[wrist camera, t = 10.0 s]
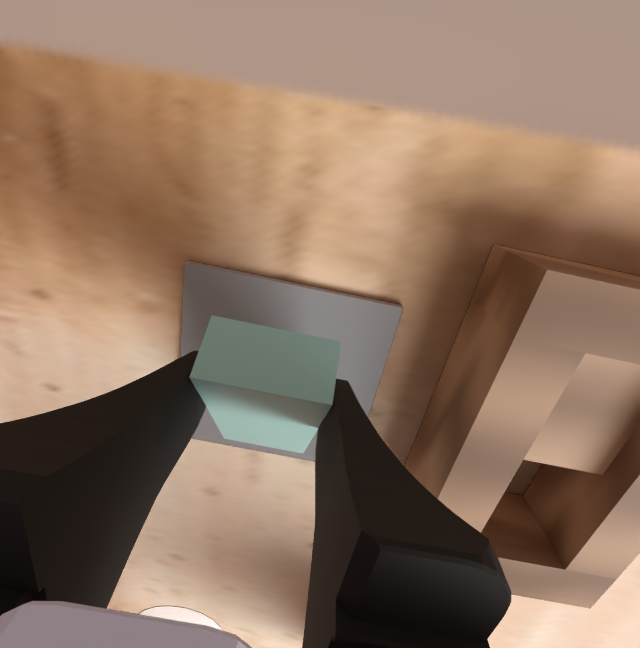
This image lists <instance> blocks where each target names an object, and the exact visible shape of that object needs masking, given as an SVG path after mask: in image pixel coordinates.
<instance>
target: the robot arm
mask: <svg viewBox="0 0 640 648" xmlns="http://www.w3.org/2000/svg"><path fill="white" fill-rule="evenodd" d="M198 352H199V351H195V350H194V351H192V352H190V353H188V354H186V355H184V356H182V357H181V358H179V359H177V360H175V361H173V362H171V363H170V364H168V365H166V366H164V367H162V368H160V369H158V370H156V371H154V372H152V373H150V374H148V375H146V376H144V377H142V378H140V379H138V380H136V381H133V382H131V383H129V384H127V385H125V386H123V387H120V388H118V389H116V390H113V391H111V392H108V393H106V394H103V395H100V396H98V397H95V398H92V399H89V400H87V401H84V402H81V403H77V404H74V405H71V406H67V407H64V408H60V409H57V410H54V411H50V412H47V413H43V414H39V415H35V416H31V417H27V418H23V419H19V420H14V421H10V422H5V423H0V648H252V647H251V646H249V645H248V644H247V643H246V642H244V641H243V640H242V639H241V638H239V637H238V636H237V635H235V634H232V633H229V632H226V631H222V630H219V629H216V628H213V627H210V626H206V625H200V624H194V623H188V622H182V621H177V620H171V619H165V618H159V617H153V616H147V615H141V614H135V613H129V612H123V611H117V610H111V609H107V606H108V604H109V601H110V599H111V597H112V594H113V592H114V590H115V588H116V585H117V583H118V581H119V578H120V576H121V574H122V571H123V569H124V567H125V564H126V562H127V560H128V558H129V555H130V553H131V551H132V549H133V547H134V544H135V542H136V540H137V538H138V536H139V533H140V531H141V529H142V527H143V525H144V523H145V520H146V518H147V516H148V514H149V512H150V510H151V508H152V506H153V504H154V501H155V499H156V497H157V495H158V494H159V492H160V490H161V488H162V486H163V484H164V483H165V481H166V479H167V478H168V476H169V474H170V473H171V471H172V469H173V468H174V466H175V464H176V463H177V461H178V459H179V458H180V456H181V454H182V453H183V451H184V449H185V448H186V446H187V444H188V443H189V441H190V439H191V438H192V436H193V434H194V433H195V431H196V429H197V427H198V425H199V423H200V420H201V418H202V416H203V413H204V411H205V409H206V405H205V403H204V401H203V400H202V398H201V396H200V394H199V393H198V391H197V390H196V388H195V386H194V384H193V383H192V381H191V379H190V374H191V371H192V369H193V366H194V363H195V360H196V357H197V355H198ZM510 603H511V589H510V587H509V584H508V582H507V579H506V577H505V574H504V572H503V569H502V567H501V564H500V562H499V559H498V557H497V555H496V553H495V551H494V549H493V547H492V545H491V543H490V541H489V539H488V538H487V537H486V536H484V535H483V534H482V533H480V532H479V531H478V530H476V529H475V528H474V527H472V526H471V525H470V524H468V523H467V522H465V521H464V520H463V519H461V518H460V517H459V516H457V515H456V514H455V513H454V512H452V511H451V510H450V509H449V508H448V507H446V506H445V505H444V504H443V503H442V502H441V501H439V500H438V499H437V498H436V497H435V496H434V495H433V494H431V493H430V492H429V491H428V490H427V489H426V488H425V487H424V486H423V485H422V484H421V483H420V482H419V481H418V480H417V479H416V478H415V477H414V476H413V475H412V474H411V473H410V472H409V471H408V470H407V469H406V468H405V467H404V466H403V465H402V463H401V462H400V461H399V460H398V459H397V458H396V456H395V455H394V454H393V453H392V452H391V450H390V449H389V448H388V447H387V445H386V444H385V443H384V441H383V440H382V439H381V437H380V436H379V434H378V433H377V431H376V430H375V428H374V427H373V425H372V424H371V422H370V420H369V419H368V417H367V415H366V414H365V412H364V410H363V408H362V407H361V405H360V403H359V401H358V399H357V397H356V395H355V393H354V391H353V389H352V387H351V385H350V383H349V382H348V381H347V380H342V379H337V378H336V383H335V390H334V397H333V404H332V406H331V408H330V410H329V411H328V413H327V415H326V416H325V418H324V419H323V421H322V422H321V424H320V426H319V427H318V433H317V441H316V450H315V531H314V541H313V552H312V563H311V573H310V582H309V592H308V602H307V611H306V620H305V629H304V638H303V647H302V648H490V647H489V644H488V640H487V639H488V637H489V636H490V635H491V633H492V632H493V630H494V629H495V628H496V626H497V625H498V624H499V622H500V621H501V620H502V618H503V617H504V615H505V613H506V611H507V609H508V607H509V605H510Z"/></svg>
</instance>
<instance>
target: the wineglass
mask: <svg viewBox="0 0 640 648" xmlns="http://www.w3.org/2000/svg"><path fill="white" fill-rule="evenodd" d="M140 614H141V615H147V616H153V617H159V618H165V619H171V620H177V621H182V622H188V623H194V624H200V625H206V626H210V627H213V628H216V629H219V630H222V629H221V627H219V626H218V625H217V624H216V623H215V622H214V621H213V620H212V619H210V618H208V617H207V616H205V615H203V614H201V613H199V612H196V611H193V610H190V609H187V608H180V607H173V606H164V607H154V608H151V609H147V610H144V611H143V612H141V613H140Z"/></svg>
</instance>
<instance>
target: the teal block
mask: <svg viewBox="0 0 640 648" xmlns="http://www.w3.org/2000/svg"><path fill="white" fill-rule="evenodd" d="M340 348H341V341H336V340H331V339H326V338H321V337H316V336H311V335H306V334H302V333H297V332H292V331H287V330H282V329H277V328H272V327H267V326H262V325H257V324H252V323H247V322H242V321H237V320H233V319H228V318H223V317H218V316H213V315H212V316H211V319H210V321H209V324H208V327H207V330H206V333H205V335H204V338H203V341H202V344H201V346H200V349H199V352H198V355H197V357H196V360H195V363H194V366H193V369H192V371H191V374H190V379H191V381H192V383H193V384H194V386H195V388H196V390H197V391H198V393H199V394H200V396H201V398H202V400H203V401H204V403H205V405H206V407H207V409H208V411H209V413H210V414H211V416H212V418H213V420H214V421H215V423H216V425H217V427H218V428H219V430H220V432H221V434H222V436H223V437H224V439H229V440H234V441H239V442H245V443H250V444H255V445H260V446H266V447H271V448H276V449H282V450H287V451H292V452H297V453H304V452H305V450H306V448H307V447H308V445H309V443H310V442H311V440H312V438H313V437H314V435H315V433H316V432H317V430H318V427H319V426H320V424H321V422H322V421H323V419H324V418H325V416H326V415H327V413H328V411H329V410H330V408H331V406H332V404H333V397H334V390H335V383H336V376H337V369H338V362H339V355H340Z"/></svg>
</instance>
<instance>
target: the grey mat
mask: <svg viewBox="0 0 640 648" xmlns="http://www.w3.org/2000/svg"><path fill="white" fill-rule="evenodd" d="M402 311H403V306H402V305H399V304H395V303H390V302H385V301H380V300H375V299H371V298H366V297H361V296H356V295H351V294H347V293H342V292H337V291H332V290H327V289H323V288H318V287H313V286H308V285H303V284H299V283H294V282H289V281H284V280H279V279H275V278H270V277H265V276H260V275H255V274H251V273H246V272H241V271H236V270H231V269H227V268H222V267H217V266H212V265H207V264H203V263H198V262H193V261H186V262H185V263H184V284H183V306H182V328H181V350H180V358H181V357H182V356H184V355H186V354H188V353H190V352H192V351H194V350H195V351H199V349H200V346H201V344H202V341H203V338H204V335H205V333H206V330H207V327H208V324H209V321H210V319H211V316H212V315H213V316H218V317H223V318H228V319H233V320H237V321H242V322H247V323H252V324H257V325H262V326H267V327H272V328H277V329H282V330H287V331H292V332H297V333H302V334H306V335H311V336H316V337H321V338H326V339H331V340H336V341H341V348H340V355H339V362H338V369H337V376H336V378H337V379H342V380H347V381H348V382H349V383H350V385H351V387H352V389H353V391H354V393H355V395H356V397H357V399H358V401H359V403H360V405H361V407H362V408H363V410H364V412H365V414H366V415H367V417H368V416H369V413H370V410H371V407H372V404H373V401H374V398H375V395H376V391H377V388H378V385H379V382H380V379H381V376H382V373H383V370H384V367H385V363H386V360H387V357H388V354H389V351H390V348H391V345H392V342H393V339H394V336H395V332H396V329H397V326H398V323H399V320H400V317H401V314H402ZM317 433H318V430H317V432H316V433H315V435H314V437H313V438H312V440H311V442H310V443H309V445H308V447H307V448H306V450H305V452H304V453H297V452H292V451H287V450H282V449H276V448H271V447H266V446H260V445H255V444H250V443H245V442H239V441H234V440H229V439H224V437H223V436H222V434H221V432H220V430H219V428H218V427H217V425H216V423H215V421H214V420H213V418H212V416H211V414H210V413H209V411H208V409H207V407H206V409H205V411H204V413H203V416H202V418H201V420H200V423H199V425H198V427H197V429H196V431H195V433H194V434H193V436H192V439H198V440H203V441H208V442H213V443H219V444H224V445H229V446H235V447H240V448H245V449H251V450H256V451H261V452H266V453H272V454H277V455H282V456H288V457H293V458H298V459H303V460H309V461H314V462H315V450H316V441H317Z"/></svg>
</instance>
